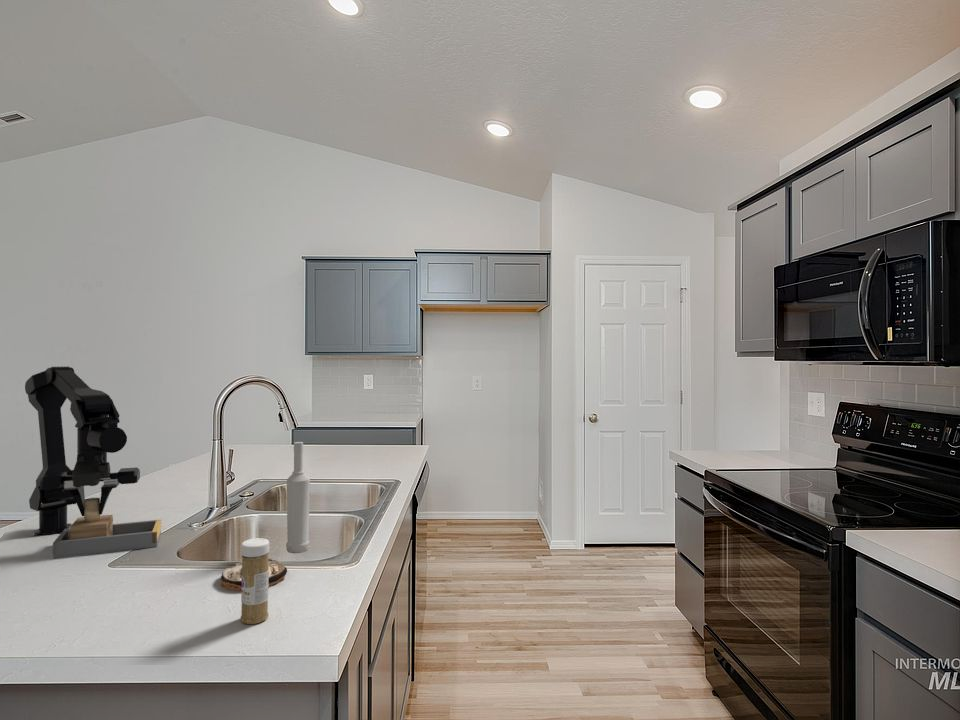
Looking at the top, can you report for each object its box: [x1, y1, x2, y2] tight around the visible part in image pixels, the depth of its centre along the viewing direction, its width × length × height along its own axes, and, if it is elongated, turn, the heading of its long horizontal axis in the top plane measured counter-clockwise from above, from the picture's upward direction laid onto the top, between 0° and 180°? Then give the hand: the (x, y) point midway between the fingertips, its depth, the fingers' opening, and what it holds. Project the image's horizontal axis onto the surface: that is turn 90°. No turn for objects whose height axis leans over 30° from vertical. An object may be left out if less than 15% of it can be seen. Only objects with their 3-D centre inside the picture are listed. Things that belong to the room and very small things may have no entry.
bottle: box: [285, 441, 311, 554], centre depth 134 cm, size 5×5×25 cm
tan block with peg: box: [70, 497, 114, 540], centre depth 134 cm, size 8×7×10 cm
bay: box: [52, 519, 162, 559], centre depth 136 cm, size 11×20×4 cm, turn 114°
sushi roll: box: [220, 558, 288, 591], centre depth 117 cm, size 15×15×4 cm
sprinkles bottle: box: [240, 537, 270, 625], centre depth 99 cm, size 5×5×13 cm
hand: (92, 515), depth 134 cm, fingers closed on tan block with peg, 3 cm apart
